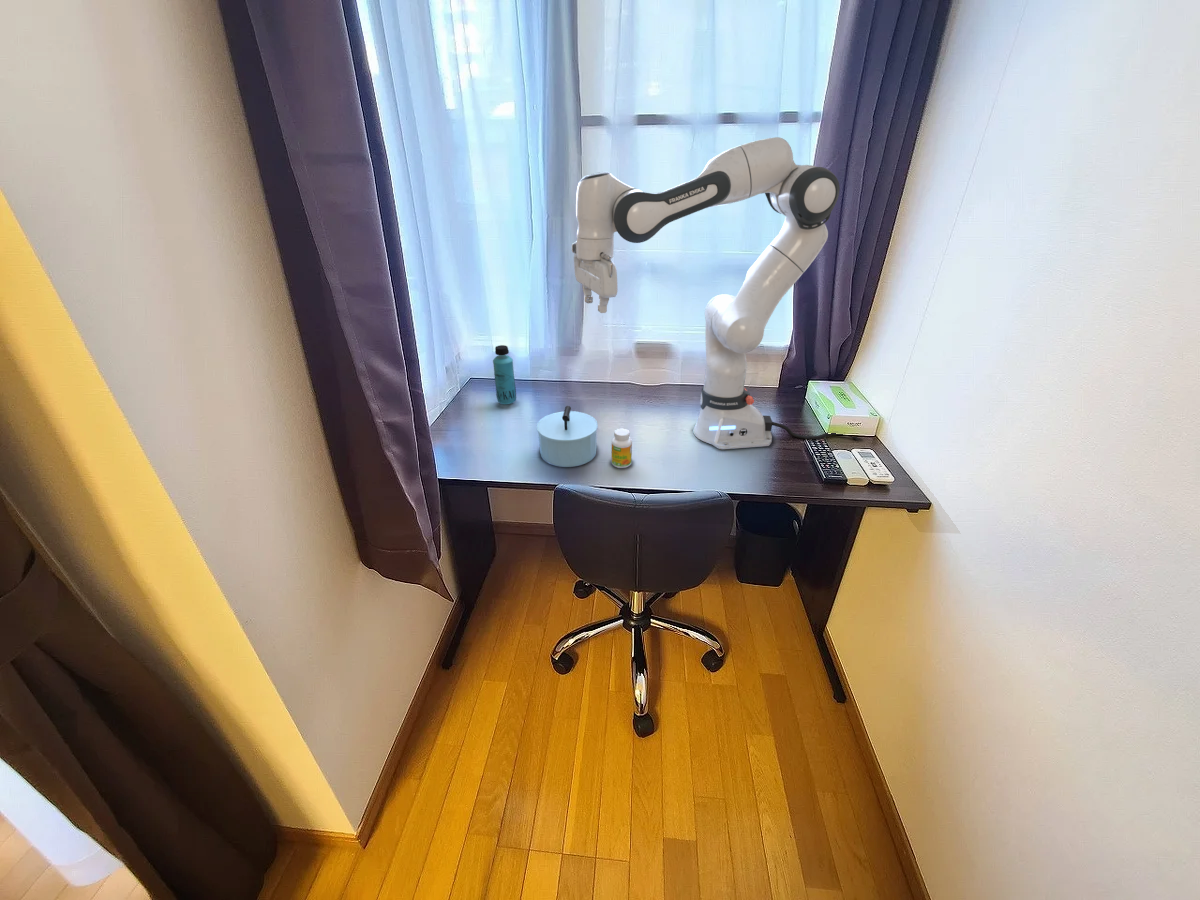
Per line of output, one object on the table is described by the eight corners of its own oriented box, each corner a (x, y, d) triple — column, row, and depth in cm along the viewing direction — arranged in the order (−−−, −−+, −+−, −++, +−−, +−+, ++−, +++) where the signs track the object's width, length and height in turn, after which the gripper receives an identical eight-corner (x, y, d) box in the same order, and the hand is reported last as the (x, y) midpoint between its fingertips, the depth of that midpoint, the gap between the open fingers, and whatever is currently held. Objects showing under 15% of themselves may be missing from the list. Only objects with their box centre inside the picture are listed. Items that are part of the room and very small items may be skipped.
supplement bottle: (610, 467, 134) (610, 436, 129) (612, 457, 139) (613, 426, 134) (630, 469, 133) (631, 437, 128) (632, 458, 138) (633, 427, 133)
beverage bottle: (499, 399, 170) (492, 342, 160) (519, 400, 170) (513, 343, 160) (495, 408, 165) (488, 350, 154) (515, 408, 165) (509, 350, 154)
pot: (598, 438, 147) (597, 414, 143) (594, 467, 134) (593, 442, 130) (545, 437, 148) (543, 413, 144) (536, 466, 135) (533, 440, 131)
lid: (599, 415, 144) (599, 398, 141) (595, 445, 130) (595, 426, 127) (542, 414, 145) (541, 396, 142) (531, 443, 131) (530, 424, 128)
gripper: (625, 256, 113) (623, 317, 121) (592, 242, 130) (592, 296, 137) (599, 258, 111) (598, 319, 119) (569, 243, 128) (570, 298, 135)
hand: (595, 307), depth 128 cm, fingers open, 8 cm apart
